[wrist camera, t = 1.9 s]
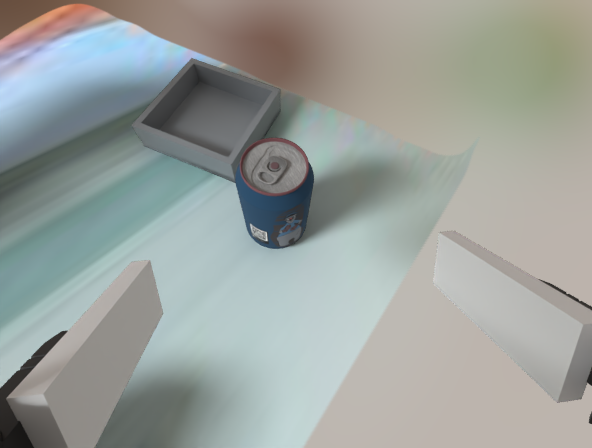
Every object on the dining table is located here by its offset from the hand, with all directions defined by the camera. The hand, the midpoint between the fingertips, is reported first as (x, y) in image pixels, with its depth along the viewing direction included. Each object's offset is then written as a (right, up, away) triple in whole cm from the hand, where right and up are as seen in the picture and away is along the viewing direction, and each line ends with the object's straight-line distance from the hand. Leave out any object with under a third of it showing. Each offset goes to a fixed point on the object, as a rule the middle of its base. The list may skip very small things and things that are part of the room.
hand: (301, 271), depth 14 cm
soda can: (-3, +2, +22) cm, 22 cm away
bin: (-11, +16, +28) cm, 34 cm away
